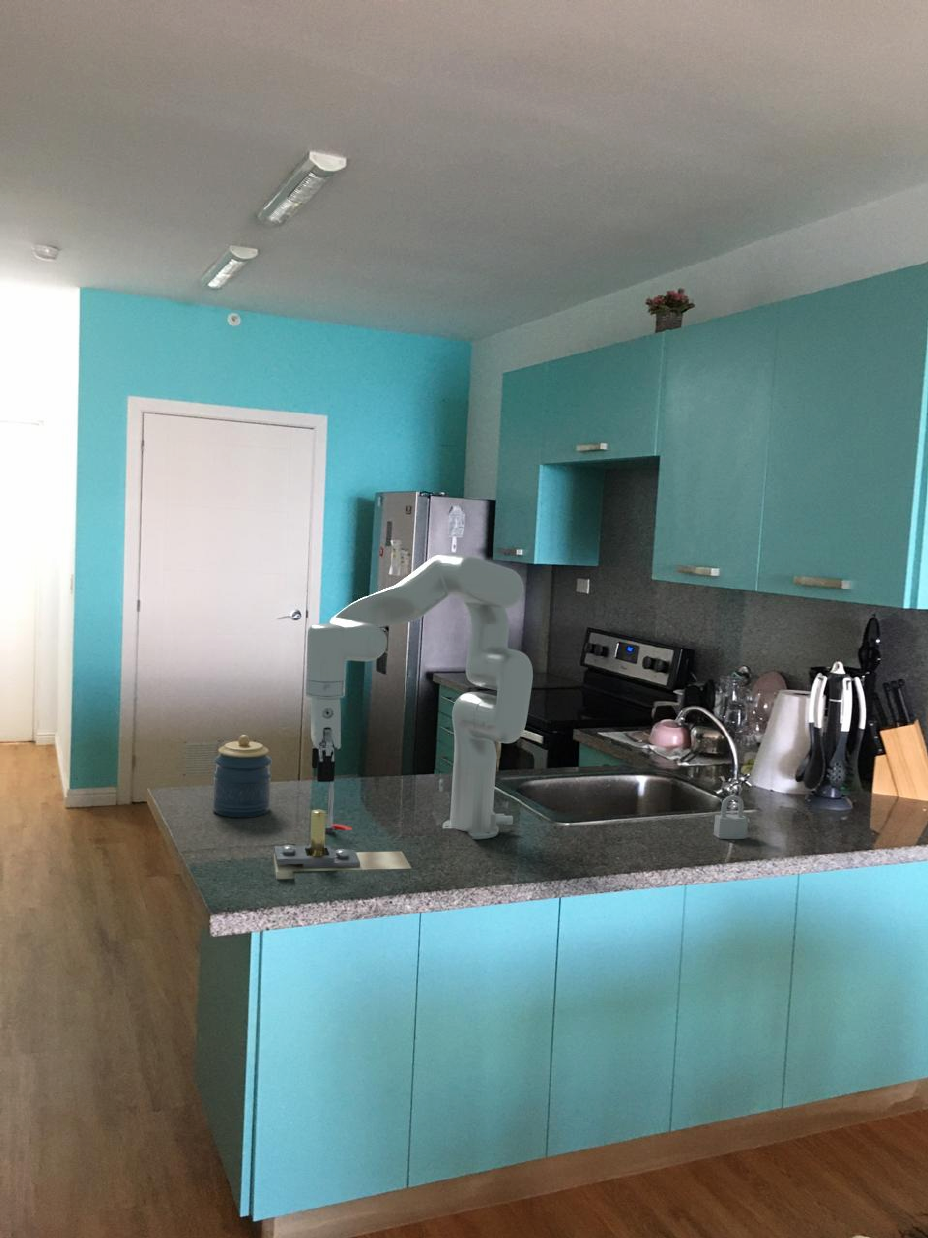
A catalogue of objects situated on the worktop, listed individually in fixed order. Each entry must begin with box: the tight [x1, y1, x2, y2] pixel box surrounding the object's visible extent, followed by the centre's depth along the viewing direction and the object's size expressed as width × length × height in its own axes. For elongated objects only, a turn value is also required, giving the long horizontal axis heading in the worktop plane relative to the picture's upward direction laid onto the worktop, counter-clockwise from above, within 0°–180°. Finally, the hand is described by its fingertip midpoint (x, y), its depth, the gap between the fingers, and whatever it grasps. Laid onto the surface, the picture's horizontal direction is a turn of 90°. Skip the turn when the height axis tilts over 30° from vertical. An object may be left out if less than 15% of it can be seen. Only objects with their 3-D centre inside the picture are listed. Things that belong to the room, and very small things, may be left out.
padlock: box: [713, 794, 749, 840], centre depth 241 cm, size 7×4×10 cm, turn 102°
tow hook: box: [325, 780, 353, 834], centre depth 225 cm, size 8×13×9 cm
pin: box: [309, 809, 327, 856], centre depth 202 cm, size 3×3×10 cm
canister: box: [212, 734, 273, 819], centre depth 237 cm, size 13×13×18 cm
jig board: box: [272, 850, 412, 880], centre depth 204 cm, size 26×10×2 cm, turn 104°
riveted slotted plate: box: [273, 844, 360, 869], centre depth 203 cm, size 16×8×3 cm, turn 104°
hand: (322, 774), depth 201 cm, fingers open, 9 cm apart
